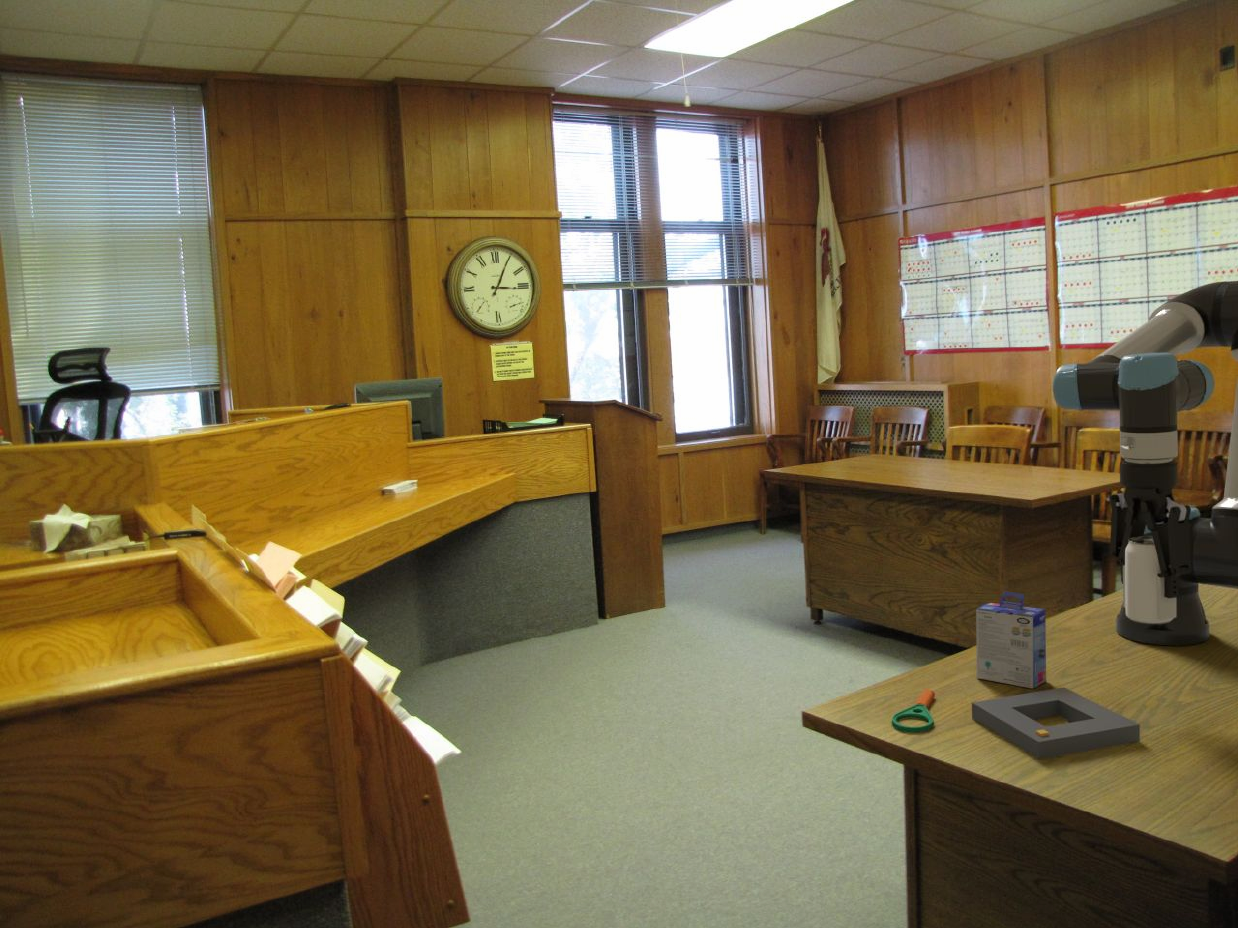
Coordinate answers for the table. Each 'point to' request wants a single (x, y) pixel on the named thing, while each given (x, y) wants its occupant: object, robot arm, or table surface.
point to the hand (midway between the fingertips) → (1149, 611)
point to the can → (1142, 580)
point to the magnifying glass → (916, 714)
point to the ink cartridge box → (1011, 642)
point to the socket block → (1082, 734)
